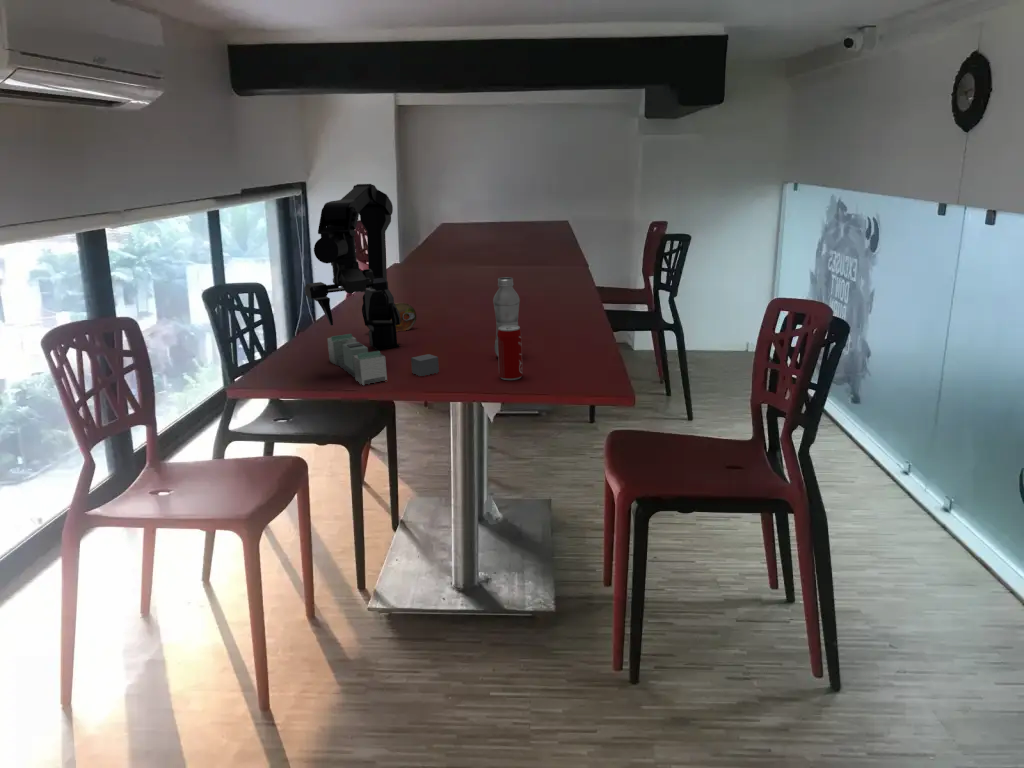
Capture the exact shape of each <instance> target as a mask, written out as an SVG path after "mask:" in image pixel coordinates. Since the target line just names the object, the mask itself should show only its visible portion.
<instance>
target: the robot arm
mask: <svg viewBox="0 0 1024 768" xmlns="http://www.w3.org/2000/svg"><path fill="white" fill-rule="evenodd" d="M393 207H394V206H393V203H392V200H391V199H390V198H389V196H388V195H387V193H384V192H383V191H381V190H379V189H378V188H377V187H376V186H375V184H372V183H357V184H354V185H353V187H352V189H351V190H350V191H349V192H348V193H346V194H345V195H344V196H343V197H342V198H341V199H338V200H337V199H336V200H332V201H331V200H330V201H327V202H326V203H324V205H323V207H322V209H321V212H320V219H319V224H318V230H317V234H318V235H320V238H319V239H317V240H316V242H315V244H314V247H313V252H314V253H313V254H314V256H315V258H316V259H317V260H318V261H319V262H321V263H323V264H330V265H331V266H332V277H333V278H332V283H333V284H331V283H330V284H326V283H324V282H321V281H319V282H311V283H309V282H308V283H306V284H305V286H304V293H305V296H306V297H307V298H309V299H312V300H314V301H315V302H317V303H318V305H319V306H320V307H321V309H322V311H323V314H324V315H325V317H326V319H327V322H328V323H329V325H330V326H334V322H333V321H334V320H333V313H332V309H331V303H330V302H331V298H330V297H328V295H329V294H331V293H338V292H345V293H347V294H354V293H359V292H360V293H364V294H363V296H362V306H361V314H362V318H363V322H364V326H366V327H367V326H368V325H369V326H370V330H369V329H368V339H369V346H370V347H372V348H374V349H375V351H380V350H386V349H392V348H398V347H400V344H399V343H398V336H397V335H398V334H397V332H396V325H399V324H400V313H399V311H398V309H397V307H396V305H395V304H394V303H395V300H394V294H392V292H391V291H390V289H389V282H388V279H387V278H388V277H387V276H388V274H387V273H388V271H387V248H386V247H387V243H386V242H387V241H386V232H387V230H388V227H389V226H390V224H391V222H392V215H393V210H394V208H393ZM359 219H360V223H361V225H362V226H363V227H364V229H365V231H366V233H367V234H366V235H367V259H368V261H367V263H368V264H367V265H368V268H365V269H363V270H361V269H360V264H359V261H357V260H358V259H357V250H356V239H355V236H356V234H357V233H356V231H355V230H356V228H357V224H358V222H359ZM391 319H392V320H391Z"/></svg>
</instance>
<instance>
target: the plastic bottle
mask: <svg viewBox="0 0 1024 768" xmlns="http://www.w3.org/2000/svg"><path fill="white" fill-rule="evenodd" d="M497 282H498V283H497V287H498V289H497V291H496V293H495V294H494V296H493V299H492V302H493V308H494V315H495V322H496V323H495V324H496V325H495V326H496V327H495V328H496V329H495V342H494V352H495V355H496V356H497V357H498V339H497V333H498V328H499V327H501V326H506V325H515V326H519V321H518V320H519V310H520V301H521V298H520V296H519V294H518V293H517V291H516V290H515V289H514V287H513V286H514V278H513V277H510V276H509V277H508V276H507V277H498V278H497Z"/></svg>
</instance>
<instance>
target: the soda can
mask: <svg viewBox="0 0 1024 768" xmlns="http://www.w3.org/2000/svg"><path fill="white" fill-rule="evenodd" d="M497 339H498V356H497V359H498V376H499V378H500V379H501V380H504V381H517V380H520V379H521V378H522V377H523V375H524V374H523V373H524V372H523V345H522V343H523V342H522V330H521V327H520V325H518V326H515V325H506V326H501V327H499V328H498V333H497Z"/></svg>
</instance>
